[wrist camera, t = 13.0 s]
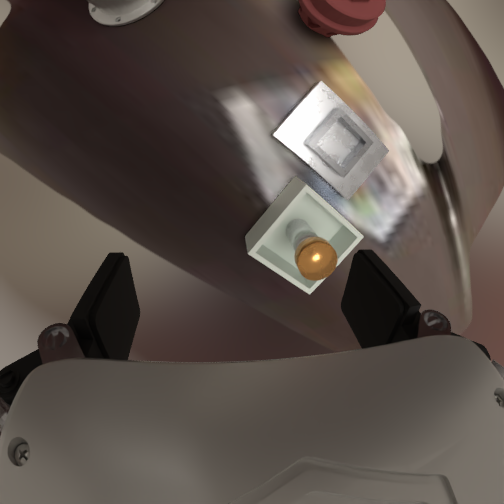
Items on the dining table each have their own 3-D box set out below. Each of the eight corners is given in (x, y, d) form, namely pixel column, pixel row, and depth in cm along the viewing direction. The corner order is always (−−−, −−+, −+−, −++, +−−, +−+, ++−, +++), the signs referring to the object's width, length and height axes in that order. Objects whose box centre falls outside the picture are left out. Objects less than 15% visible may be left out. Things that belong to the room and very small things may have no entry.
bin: (244, 236, 40) (247, 253, 35) (295, 175, 37) (306, 184, 32) (300, 274, 44) (309, 294, 39) (348, 222, 41) (363, 236, 36)
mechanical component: (338, -9, 24) (361, 44, 28) (275, -4, 24) (299, 52, 29) (375, -42, 13) (409, 24, 17) (295, -46, 13) (332, 25, 18)
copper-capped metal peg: (282, 214, 39) (300, 244, 30) (314, 214, 39) (340, 243, 30) (281, 245, 41) (296, 281, 32) (311, 244, 41) (334, 279, 32)
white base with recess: (270, 134, 34) (276, 135, 30) (316, 82, 31) (326, 78, 27) (342, 196, 39) (353, 204, 35) (382, 149, 36) (396, 152, 32)
